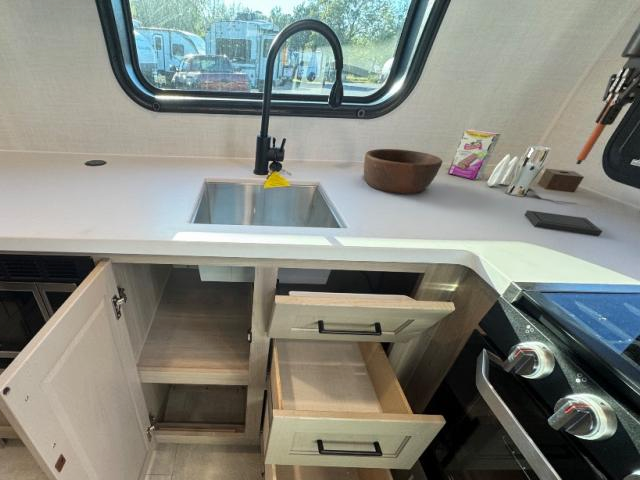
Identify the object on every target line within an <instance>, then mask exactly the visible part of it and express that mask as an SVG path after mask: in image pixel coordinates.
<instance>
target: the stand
mask: <svg viewBox="0 0 640 480" xmlns="http://www.w3.org/2000/svg"><path fill="white" fill-rule="evenodd" d="M584 178H585V176H584V175H582V174H580V173H579V172H576V171H575V170H568V169H567V170H566V169H565V170H564V169H555V168H545V170H544V172H543V174H542V175H541V176H540V179H539V181H538V182H537V184H538V185H539V186H540V187H541V188H543V189H544V190H548V191H557V192H566V193H575V192H576V191H577V189H578V187H579V186H580V184H581V183H582V181H583V179H584Z"/></svg>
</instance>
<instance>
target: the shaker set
mask: <svg viewBox="0 0 640 480" xmlns="http://www.w3.org/2000/svg"><path fill="white" fill-rule="evenodd" d="M518 163H519V157H518V156H513V158H512V159H511V154H510V153H508V154H506V155H505V156H504V157H503V158H502V160H501V161H500V162H499V163H497V165H496V166H495V167H494V169H493V171H492V172H491V175H490V177H489V179H488V180H487V185H488V187H492V186H493V187H494V186H497V185H500V184H501V185H503V186H504V185H506V186H509V184H510V182H511V181H512V179H513V177H514V175H515V171H516V168H517V165H518Z"/></svg>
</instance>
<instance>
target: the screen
mask: <svg viewBox="0 0 640 480" xmlns="http://www.w3.org/2000/svg"><path fill="white" fill-rule="evenodd" d="M537 212H538V211H537ZM537 212H534V214H535V215H536V216H537V217H538V218H539V219H540V221H541V222H548V223H555V224H563V225H570V226H577V227H584V228H591V229H594V228H593V227H591V226H590V225H589V224H588V223H587V222H585V221H584V220H583V219H581V218H582V217H581V218H574V217H575V216H574V217H566V216H559V215H560V214H559V215H552V214H553V213H552V214H544V213H545V212H544V213H537Z"/></svg>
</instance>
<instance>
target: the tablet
mask: <svg viewBox="0 0 640 480" xmlns="http://www.w3.org/2000/svg"><path fill="white" fill-rule="evenodd" d="M534 212H537V213H544V214H552V215H559V216H566V217H574V218H581V219H583V220H584V221H585V222H587V223H588V224H589V225H590V226H591V227H593V228H594V229H591V228H584V227H577V226H570V225H563V224H555V223H548V222H541V221H540V219H539V218H538V217H537V216H536V215H535V214H534ZM524 216H525V217H526V219H527V220H528V221H529V222H530V223H531V224H532V226H533V227H534V228H538V229H539V228H540V229H546V230H552V231H559V232H564V233H565V232H567V233H571V234H572V233H573V234H579V235H587V236H593V237H600V235H601V234H602V233H603V230H602V229H601V228H599V227H598V226H597V225H596V224H594V223H593V222H592V221H590V220H589V219H588V217H582V216H574V215H566V214H558V213H552V212H544V211H543V212H542V211H538V210H537V211H536V210H529V209H527V210H526V211H525V213H524Z"/></svg>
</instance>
